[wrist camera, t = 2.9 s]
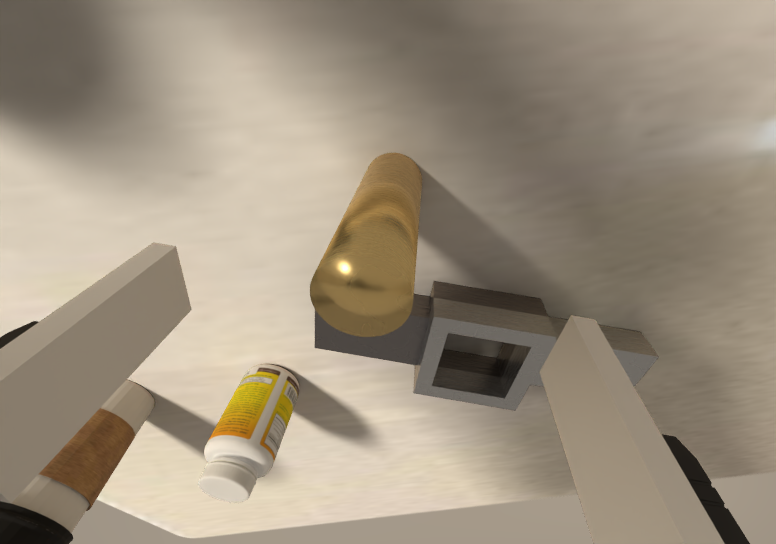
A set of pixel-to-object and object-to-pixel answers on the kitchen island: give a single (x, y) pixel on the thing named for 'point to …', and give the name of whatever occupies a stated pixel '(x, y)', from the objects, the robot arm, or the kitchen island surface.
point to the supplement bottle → (249, 433)
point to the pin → (373, 253)
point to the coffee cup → (76, 472)
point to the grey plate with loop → (486, 321)
